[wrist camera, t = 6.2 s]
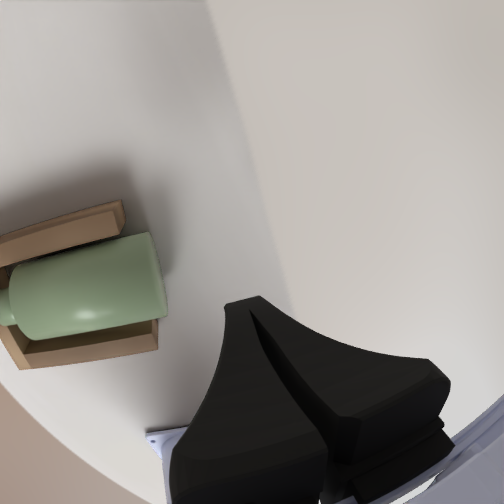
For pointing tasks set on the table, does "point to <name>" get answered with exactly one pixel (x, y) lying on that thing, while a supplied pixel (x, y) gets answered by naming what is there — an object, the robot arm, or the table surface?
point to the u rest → (82, 344)
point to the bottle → (86, 289)
